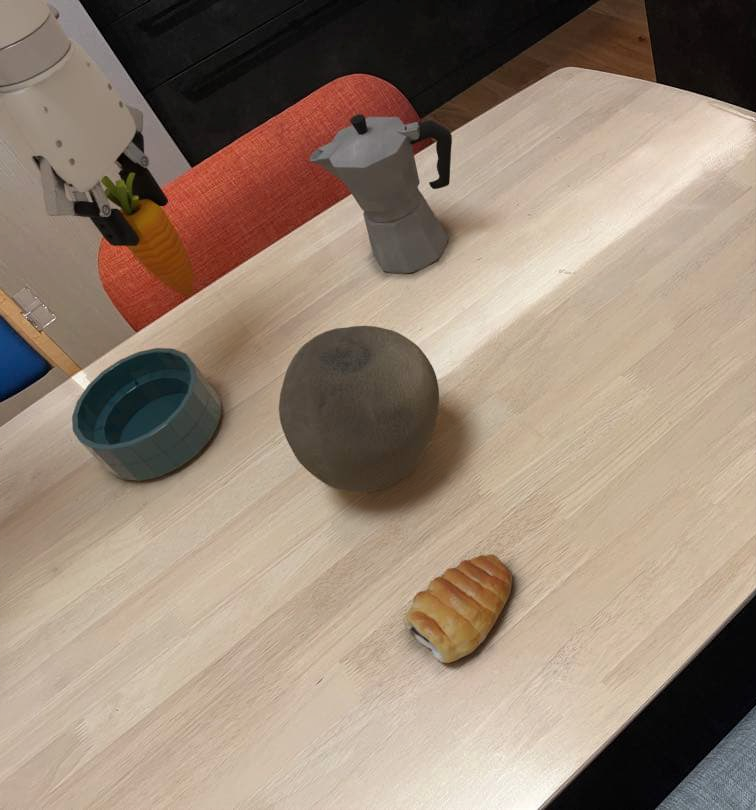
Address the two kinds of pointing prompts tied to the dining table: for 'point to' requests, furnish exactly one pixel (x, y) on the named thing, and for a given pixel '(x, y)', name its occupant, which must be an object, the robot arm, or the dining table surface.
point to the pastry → (460, 607)
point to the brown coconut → (359, 407)
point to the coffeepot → (391, 186)
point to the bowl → (147, 414)
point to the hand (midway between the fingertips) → (139, 222)
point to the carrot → (153, 237)
